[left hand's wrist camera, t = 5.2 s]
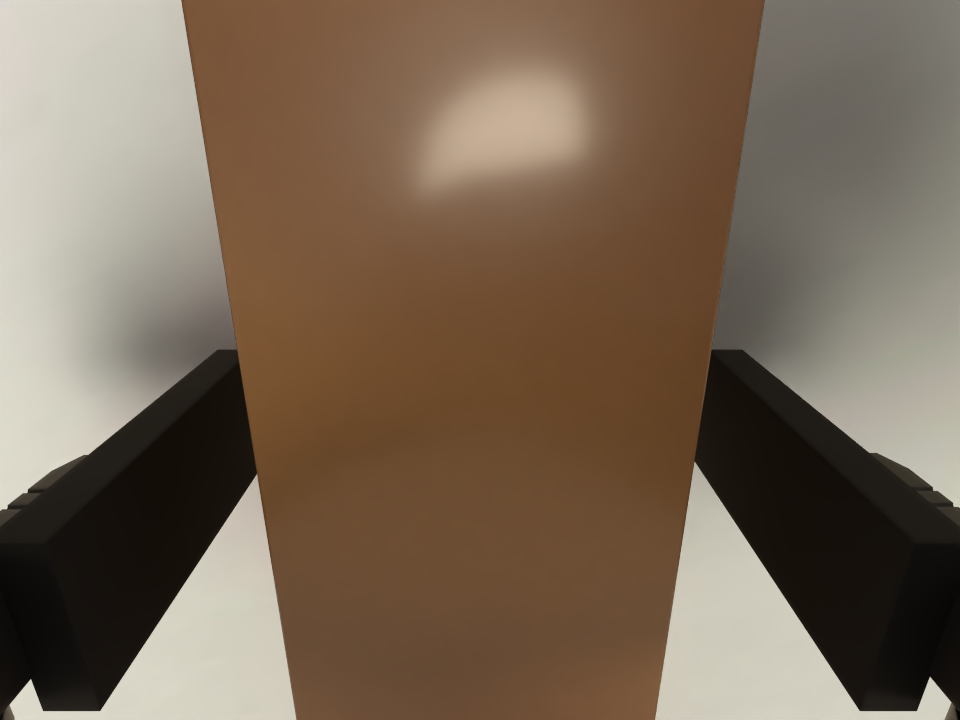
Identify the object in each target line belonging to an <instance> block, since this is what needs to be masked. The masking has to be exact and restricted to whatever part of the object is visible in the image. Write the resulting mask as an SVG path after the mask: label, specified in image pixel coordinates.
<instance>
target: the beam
mask: <svg viewBox="0 0 960 720" xmlns="http://www.w3.org/2000/svg"><path fill="white" fill-rule="evenodd" d="M181 1H182V7H183V13H184V19H185V26H186V32H187V38H188V44H189V51H190V57H191V63H192V69H193V76H194V82H195V88H196V94H197V101H198V107H199V113H200V119H201V126H202V132H203V138H204V144H205V151H206V157H207V163H208V169H209V176H210V182H211V188H212V194H213V201H214V207H215V213H216V219H217V226H218V232H219V238H220V244H221V251H222V257H223V263H224V269H225V276H226V282H227V288H228V294H229V301H230V307H231V313H232V319H233V326H234V332H235V338H236V344H237V351H238V357H239V363H240V369H241V376H242V382H243V388H244V394H245V401H246V407H247V413H248V419H249V426H250V432H251V438H252V444H253V451H254V457H255V463H256V469H257V476H258V482H259V488H260V494H261V501H262V507H263V513H264V519H265V526H266V532H267V538H268V544H269V551H270V557H271V563H272V569H273V576H274V582H275V588H276V594H277V601H278V607H279V613H280V619H281V626H282V632H283V638H284V644H285V650H286V657H287V663H288V669H289V675H290V682H291V688H292V694H293V700H294V707H295V713H296V719H297V720H655V716H656V709H657V703H658V696H659V690H660V683H661V677H662V670H663V663H664V657H665V650H666V644H667V637H668V631H669V624H670V618H671V611H672V604H673V598H674V591H675V585H676V578H677V572H678V565H679V559H680V552H681V545H682V539H683V532H684V526H685V519H686V513H687V506H688V500H689V493H690V487H691V480H692V473H693V467H694V460H695V454H696V447H697V441H698V434H699V428H700V421H701V414H702V408H703V401H704V395H705V388H706V382H707V375H708V369H709V362H710V355H711V349H712V342H713V336H714V329H715V323H716V316H717V310H718V303H719V296H720V290H721V283H722V277H723V270H724V264H725V257H726V251H727V244H728V237H729V231H730V224H731V218H732V211H733V205H734V198H735V192H736V185H737V178H738V172H739V165H740V159H741V152H742V146H743V139H744V133H745V126H746V119H747V113H748V106H749V100H750V93H751V87H752V80H753V74H754V67H755V61H756V54H757V47H758V41H759V34H760V28H761V21H762V15H763V8H764V2H765V0H181Z"/></svg>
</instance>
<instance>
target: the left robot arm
mask: <svg viewBox="0 0 960 720" xmlns="http://www.w3.org/2000/svg"><path fill="white" fill-rule="evenodd" d="M694 461H695V462H696V464H697V465H698V467H699V469H700V470H701V472H702V473H703V475H704V476H705V478H706V479H707V481H708V482H709V484H710V485H711V487H712V488H713V490H714V491H715V493H716V494H717V496H718V497H719V499H720V500H721V502H722V503H723V505H724V506H725V508H726V509H727V511H728V512H729V514H730V515H731V517H732V518H733V520H734V521H735V523H736V524H737V526H738V527H739V529H740V530H741V532H742V534H743V535H744V537H745V538H746V540H747V541H748V543H749V544H750V546H751V547H752V549H753V550H754V552H755V553H756V555H757V556H758V558H759V559H760V561H761V562H762V564H763V565H764V567H765V568H766V570H767V571H768V573H769V574H770V576H771V577H772V579H773V580H774V582H775V583H776V585H777V586H778V588H779V589H780V591H781V592H782V594H783V595H784V597H785V599H786V600H787V602H788V603H789V605H790V606H791V608H792V609H793V611H794V612H795V614H796V615H797V617H798V618H799V620H800V621H801V623H802V624H803V626H804V627H805V629H806V630H807V632H808V633H809V635H810V636H811V638H812V639H813V641H814V642H815V644H816V645H817V647H818V648H819V650H820V651H821V653H822V654H823V656H824V657H825V659H826V660H827V662H828V664H829V665H830V667H831V668H832V670H833V671H834V673H835V674H836V676H837V677H838V679H839V680H840V682H841V683H842V685H843V686H844V688H845V689H846V691H847V692H848V694H849V695H850V697H851V698H852V700H853V701H854V703H855V704H856V706H857V707H858V709H859V710H860V711H917V709H918V706H919V704H920V701H921V699H922V696H923V693H924V691H925V688H926V685H927V683H928V680H929V677H931V678H932V679H933V681H934V682H935V683H936V684H937V685H938V687H939V688H940V689H941V690H942V691H943V693H944V694H945V695H946V696H947V697H948V699H949V700H950V701H951V702H952V703H951V706H950V708H949V710H948V713H947V715H946V718H945V720H960V508H959V507H954V506H953V503H952V502H951V501H950V500H948V499H947V498H946V497H945V496H943V495H942V494H941V493H939V492H938V491H933V487H932V486H930V485H929V484H928V483H927V482H925V481H924V480H923V479H921V478H920V477H919V476H918V475H916V474H915V473H914V472H912V471H911V470H910V469H908V468H906V467H904V466H902V465H900V464H898V463H896V462H894V461H892V460H890V459H888V458H886V457H884V456H882V455H880V454H878V453H869V452H867V451H866V450H865V449H864V448H862V447H861V446H860V445H859V444H857V443H856V442H855V441H854V440H853V439H851V438H850V437H849V436H848V435H846V434H845V433H844V432H843V431H841V430H840V429H839V428H838V427H837V426H835V425H834V424H833V423H832V422H830V421H829V420H828V419H827V418H826V417H824V416H823V415H822V414H821V413H819V412H818V411H817V410H816V409H814V408H813V407H812V406H811V405H810V404H808V403H807V402H806V401H805V400H803V399H802V398H801V397H800V396H798V395H797V394H796V393H795V392H794V391H792V390H791V389H790V388H789V387H787V386H786V385H785V384H784V383H782V382H781V381H780V380H779V379H778V378H776V377H775V376H774V375H773V374H771V373H770V372H769V371H768V370H766V369H765V368H764V367H763V366H762V365H760V364H759V363H758V362H757V361H755V360H754V359H753V358H752V357H750V356H749V355H748V354H747V353H746V352H744V351H743V350H711V355H710V362H709V369H708V375H707V382H706V388H705V395H704V401H703V408H702V414H701V421H700V428H699V434H698V441H697V447H696V454H695V460H694ZM256 475H257V469H256V463H255V457H254V451H253V444H252V438H251V432H250V426H249V419H248V413H247V407H246V401H245V394H244V388H243V382H242V376H241V369H240V363H239V357H238V351H237V350H217V351H216V352H214V353H213V354H212V355H211V356H210V357H208V358H207V359H206V360H205V361H203V362H202V363H201V364H200V365H198V366H197V367H196V368H195V369H194V370H192V371H191V372H190V373H189V374H187V375H186V376H185V377H184V378H182V379H181V380H180V381H179V382H178V383H176V384H175V385H174V386H173V387H171V388H170V389H169V390H168V391H166V392H165V393H164V394H163V395H162V396H160V397H159V398H158V399H157V400H155V401H154V402H153V403H152V404H151V405H149V406H148V407H147V408H146V409H144V410H143V411H142V412H141V413H139V414H138V415H137V416H136V417H135V418H133V419H132V420H131V421H130V422H128V423H127V424H126V425H125V426H123V427H122V428H121V429H120V430H119V431H117V432H116V433H115V434H114V435H112V436H111V437H110V438H109V439H107V440H106V441H105V442H104V443H103V444H101V445H100V446H99V447H98V448H96V449H95V450H94V451H93V452H91V453H90V454H89V455H83V456H81V457H79V458H77V459H75V460H73V461H71V462H69V463H67V464H65V465H63V466H61V467H59V468H57V469H55V470H53V471H51V472H50V473H49V474H47V475H46V476H45V477H43V478H42V479H41V480H40V481H38V482H37V483H36V484H34V485H33V486H32V487H31V488H29V489H28V493H23V494H22V495H20V496H19V497H18V498H17V499H15V500H14V501H13V502H11V503H10V504H9V505H8V508H7V509H2V510H1V511H0V720H15V719H14V715H13V713H12V710H11V708H10V706H9V704H10V703H11V702H12V701H13V700H14V698H15V697H16V696H17V695H18V694H19V692H20V691H21V690H22V689H23V688H24V686H25V685H26V684H27V683H28V682H29V680H30V679H31V680H32V683H33V685H34V688H35V691H36V693H37V696H38V698H39V701H40V704H41V706H42V709H43V711H100V710H101V709H102V707H103V706H104V704H105V703H106V701H107V700H108V698H109V697H110V695H111V694H112V692H113V691H114V689H115V688H116V686H117V685H118V683H119V682H120V680H121V679H122V677H123V676H124V674H125V673H126V671H127V670H128V668H129V667H130V665H131V664H132V662H133V661H134V659H135V657H136V656H137V654H138V653H139V651H140V650H141V648H142V647H143V645H144V644H145V642H146V641H147V639H148V638H149V636H150V635H151V633H152V632H153V630H154V629H155V627H156V626H157V624H158V623H159V621H160V620H161V618H162V617H163V615H164V614H165V612H166V611H167V609H168V608H169V606H170V605H171V603H172V602H173V600H174V599H175V597H176V595H177V594H178V592H179V591H180V589H181V588H182V586H183V585H184V583H185V582H186V580H187V579H188V577H189V576H190V574H191V573H192V571H193V570H194V568H195V567H196V565H197V564H198V562H199V561H200V559H201V558H202V556H203V555H204V553H205V552H206V550H207V549H208V547H209V546H210V544H211V543H212V541H213V540H214V538H215V537H216V535H217V534H218V532H219V530H220V529H221V527H222V526H223V524H224V523H225V521H226V520H227V518H228V517H229V515H230V514H231V512H232V511H233V509H234V508H235V506H236V505H237V503H238V502H239V500H240V499H241V497H242V496H243V494H244V493H245V491H246V490H247V488H248V487H249V485H250V484H251V482H252V481H253V479H254V478H255V476H256Z"/></svg>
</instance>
